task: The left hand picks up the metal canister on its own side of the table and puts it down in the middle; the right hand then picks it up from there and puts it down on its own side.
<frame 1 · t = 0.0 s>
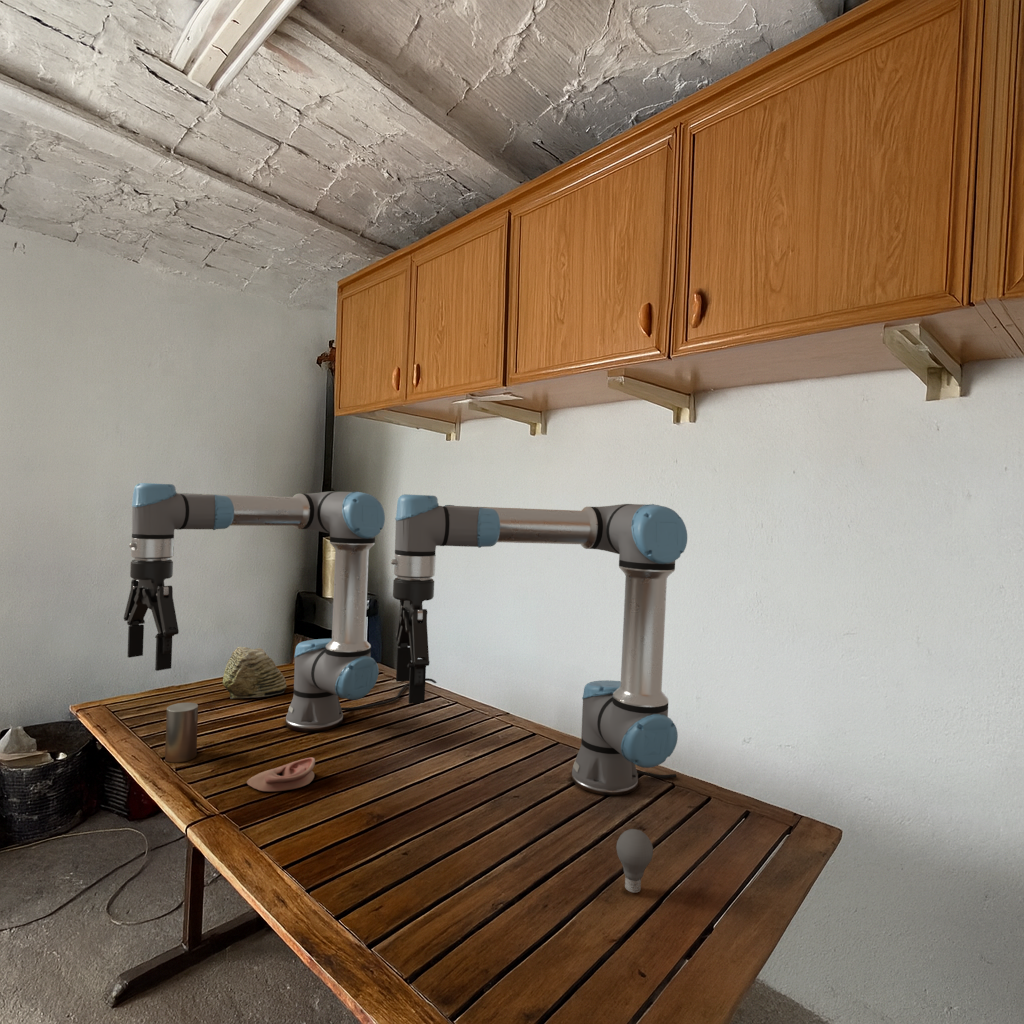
left hand: (148, 662, 129), 28 cm above the table, tool pointing down, fingers open, 13 cm apart
right hand: (409, 691, 118), 28 cm above the table, tool pointing down, fingers open, 13 cm apart
anatomical model: (281, 781, 140), on the table
fossil: (254, 694, 198), on the table
light bulb: (632, 891, 106), on the table
canister: (180, 756, 150), on the table
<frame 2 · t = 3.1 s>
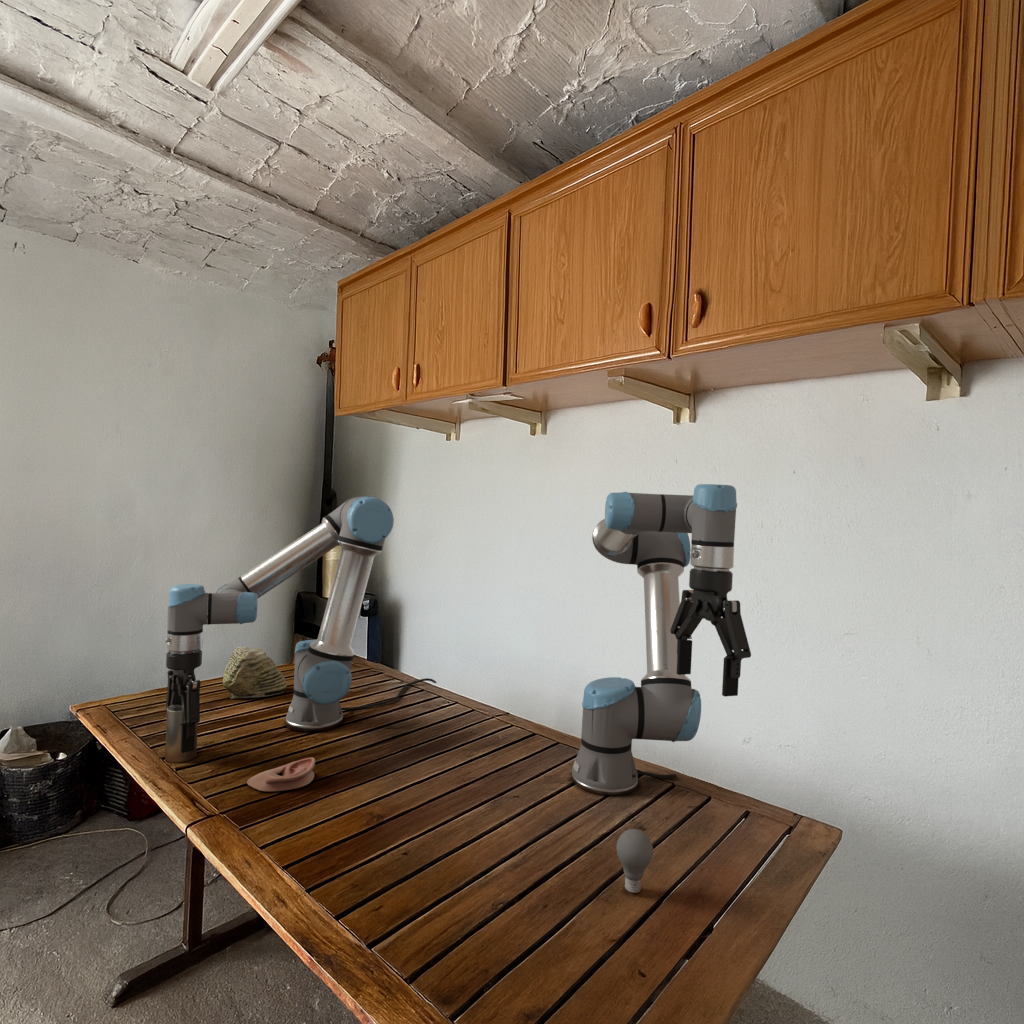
left hand: (181, 746, 150), 2 cm above the table, tool pointing down, fingers closed on canister, 7 cm apart
right hand: (705, 684, 116), 32 cm above the table, tool pointing down, fingers open, 13 cm apart
canister: (180, 756, 150), on the table, touching left hand
everything else where it was.
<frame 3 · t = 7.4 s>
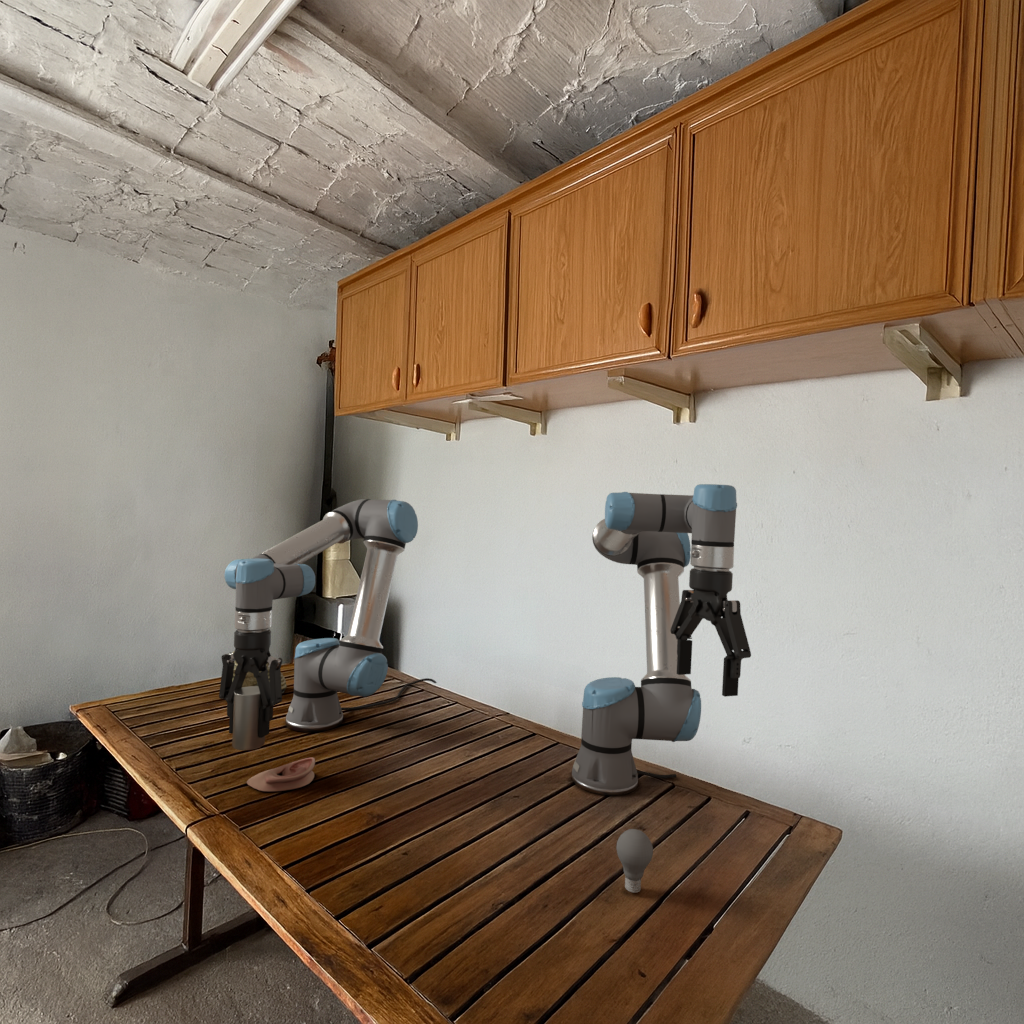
left hand: (249, 733, 140), 11 cm above the table, tool pointing down, fingers closed on canister, 7 cm apart
right hand: (705, 684, 116), 32 cm above the table, tool pointing down, fingers open, 13 cm apart
canister: (248, 744, 140), point 8 cm above the table, touching left hand
everything else where it was.
when the left hand's fingers open (4 cm above the table, at t = 11.9 s): canister drops 1 cm, on the table.
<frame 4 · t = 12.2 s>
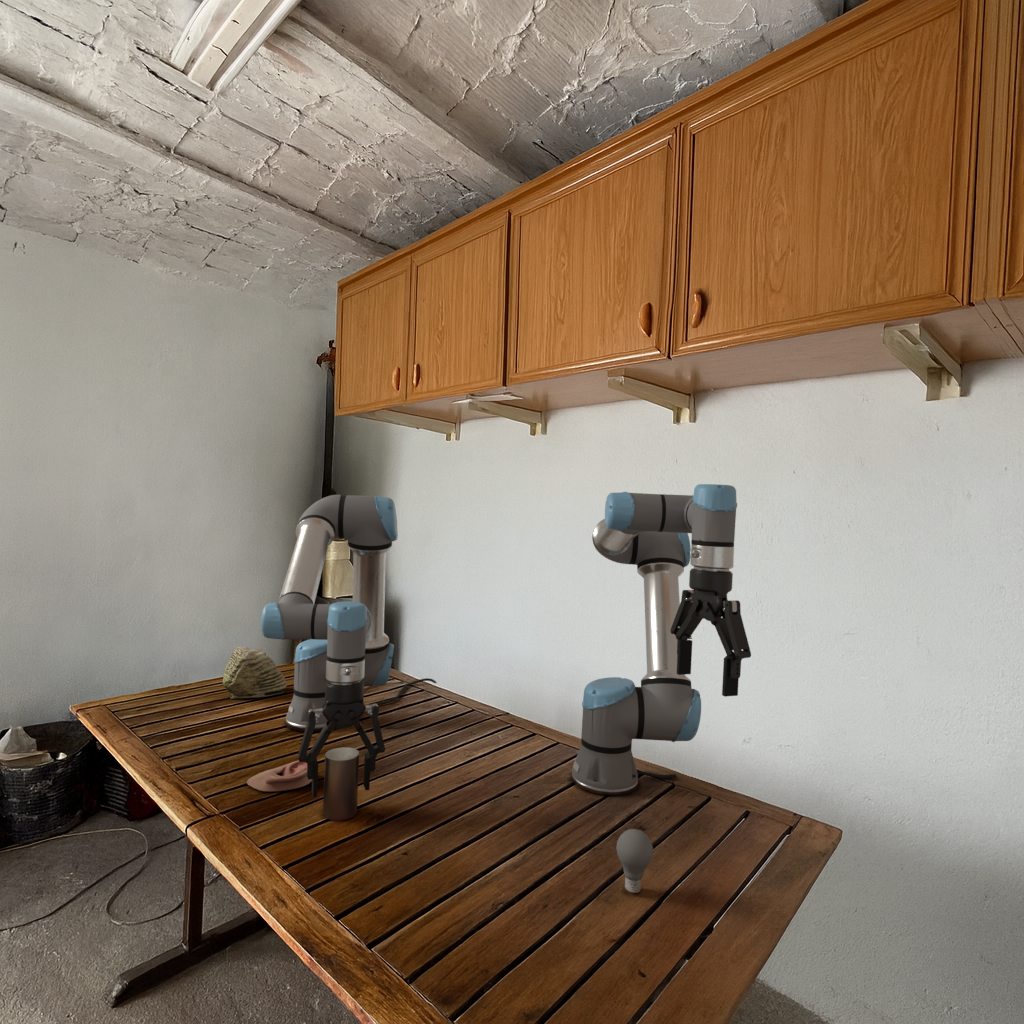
left hand: (340, 790, 127), 4 cm above the table, tool pointing down, fingers open, 9 cm apart
right hand: (705, 684, 116), 32 cm above the table, tool pointing down, fingers open, 13 cm apart
canister: (339, 812, 128), on the table
everything else where it was.
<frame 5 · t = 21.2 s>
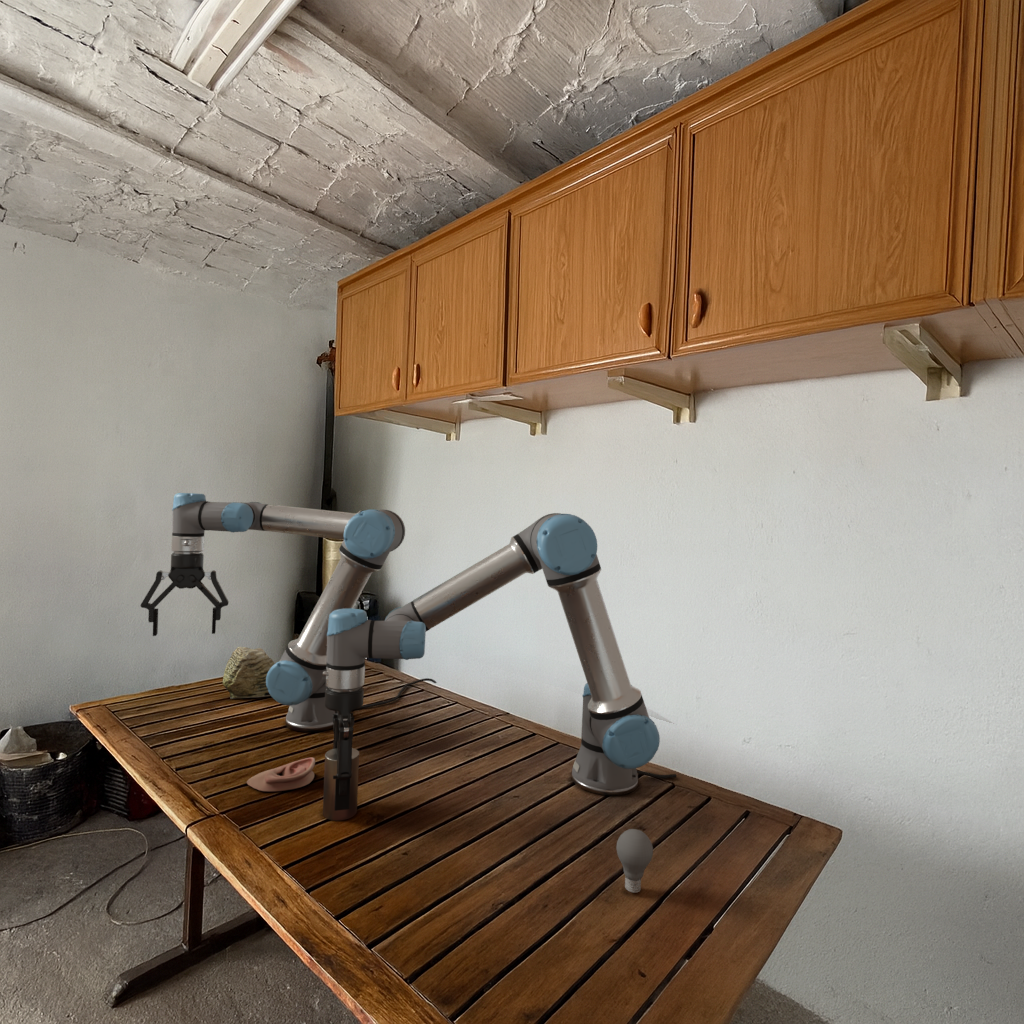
left hand: (184, 633, 165), 26 cm above the table, tool pointing down, fingers open, 13 cm apart
right hand: (340, 800, 128), 3 cm above the table, tool pointing down, fingers closed on canister, 7 cm apart
canister: (339, 812, 128), on the table, touching right hand
everything else where it was.
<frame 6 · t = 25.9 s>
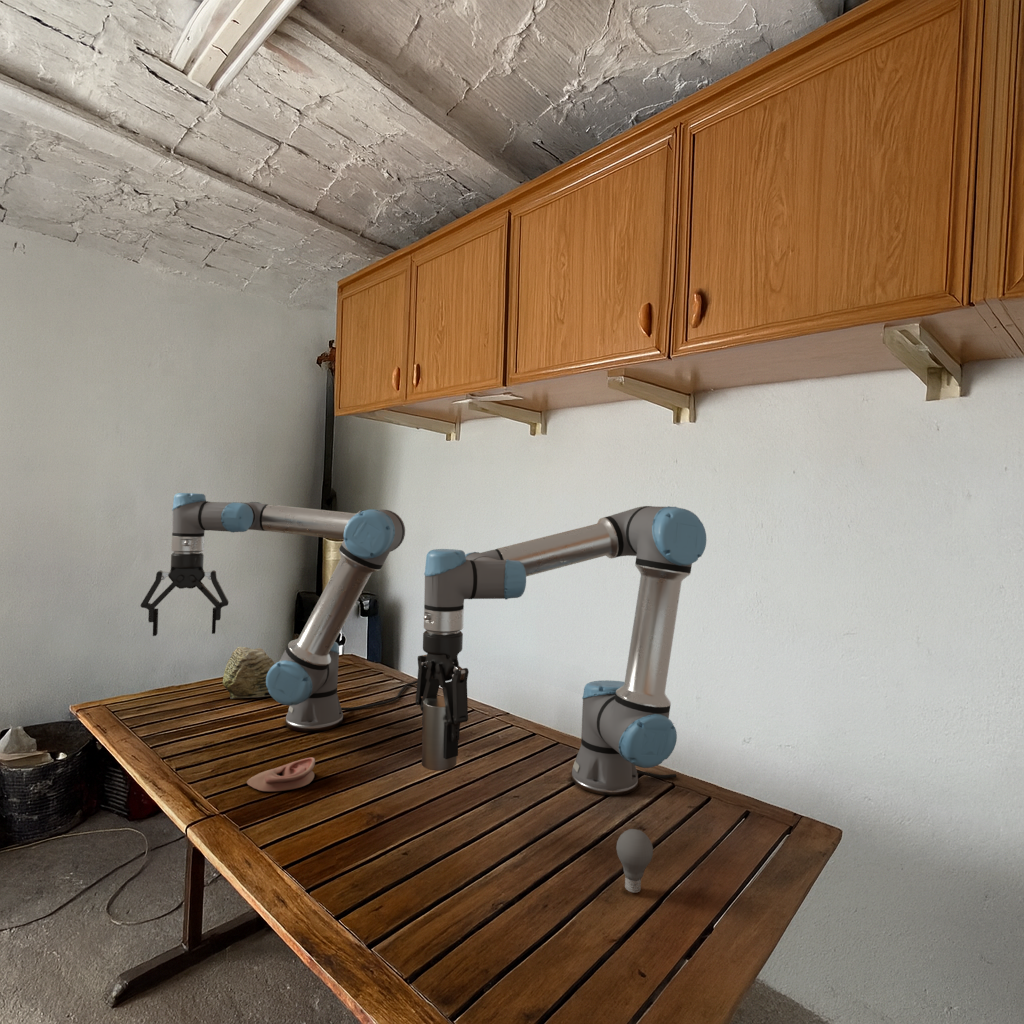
left hand: (184, 633, 165), 26 cm above the table, tool pointing down, fingers open, 13 cm apart
right hand: (439, 750, 121), 16 cm above the table, tool pointing down, fingers closed on canister, 7 cm apart
canister: (439, 763, 121), point 14 cm above the table, touching right hand
everything else where it was.
when the right hand's fingers open (4 cm above the table, at t = 30.6 s): canister drops 1 cm, on the table.
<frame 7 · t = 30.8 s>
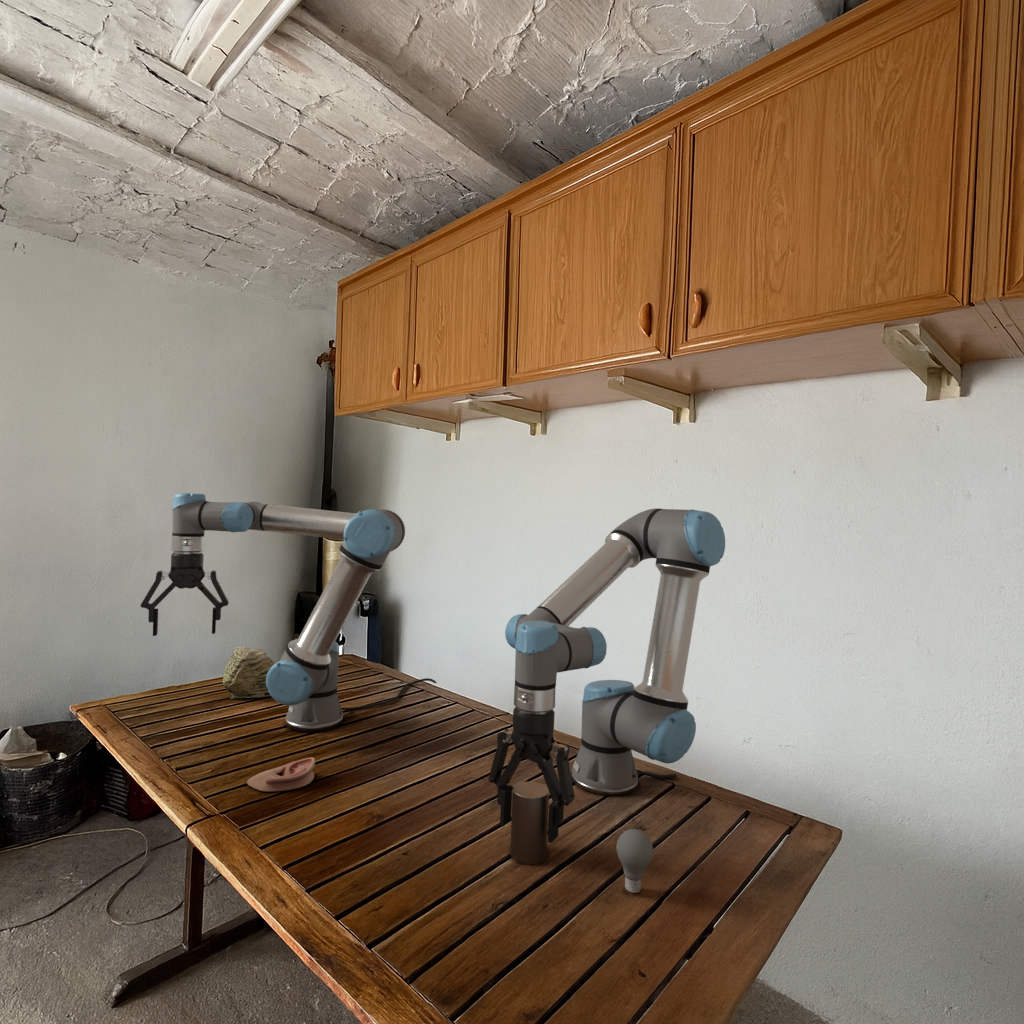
left hand: (184, 633, 165), 26 cm above the table, tool pointing down, fingers open, 13 cm apart
right hand: (528, 830, 115), 4 cm above the table, tool pointing down, fingers open, 9 cm apart
canister: (528, 854, 115), on the table
everything else where it was.
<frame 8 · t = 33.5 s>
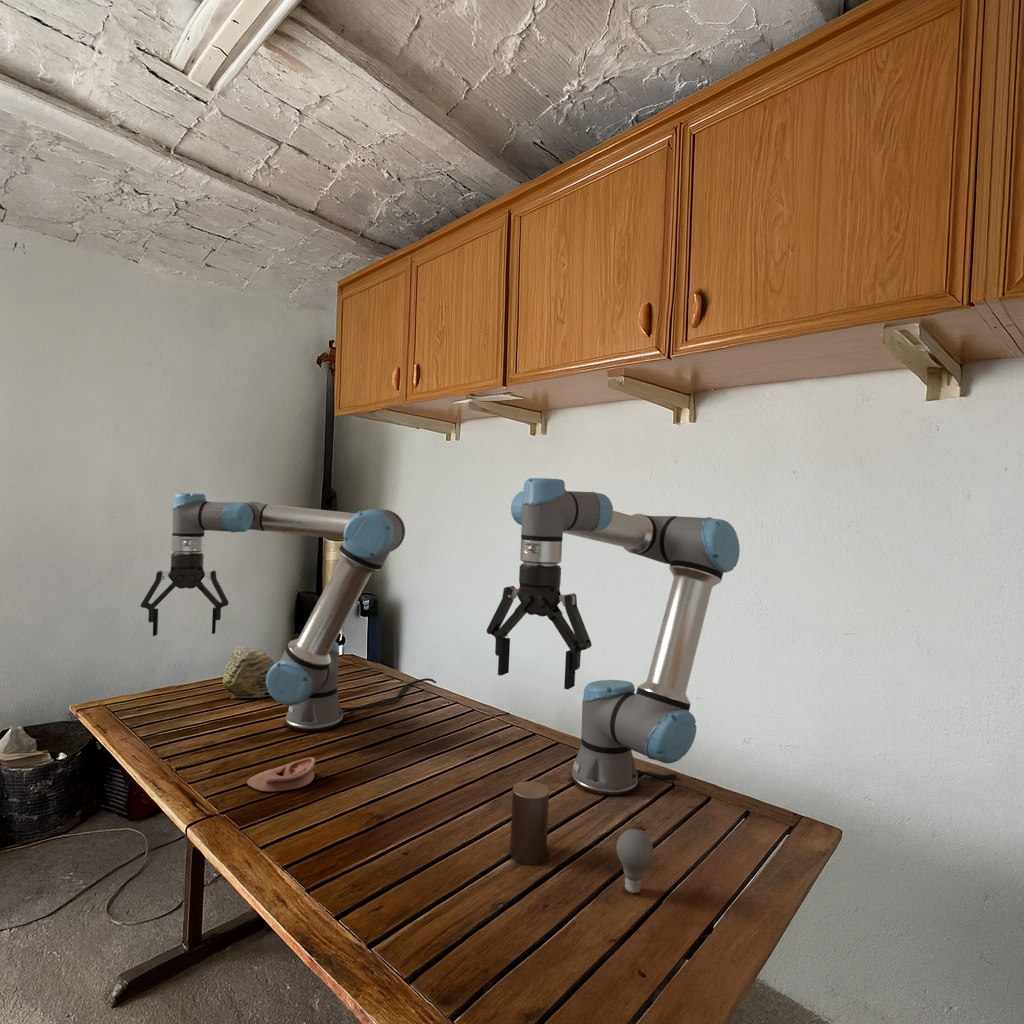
left hand: (184, 633, 165), 26 cm above the table, tool pointing down, fingers open, 13 cm apart
right hand: (535, 680, 115), 32 cm above the table, tool pointing down, fingers open, 13 cm apart
nothing on the table moved.
at the end: canister inside the target area (0.1 cm from its centre), on the table; canister tilted 0°; the two hands never held the canister at the same time; the left hand is holding nothing; the right hand is holding nothing; canister at rest at the end (0.0 cm/s) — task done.
